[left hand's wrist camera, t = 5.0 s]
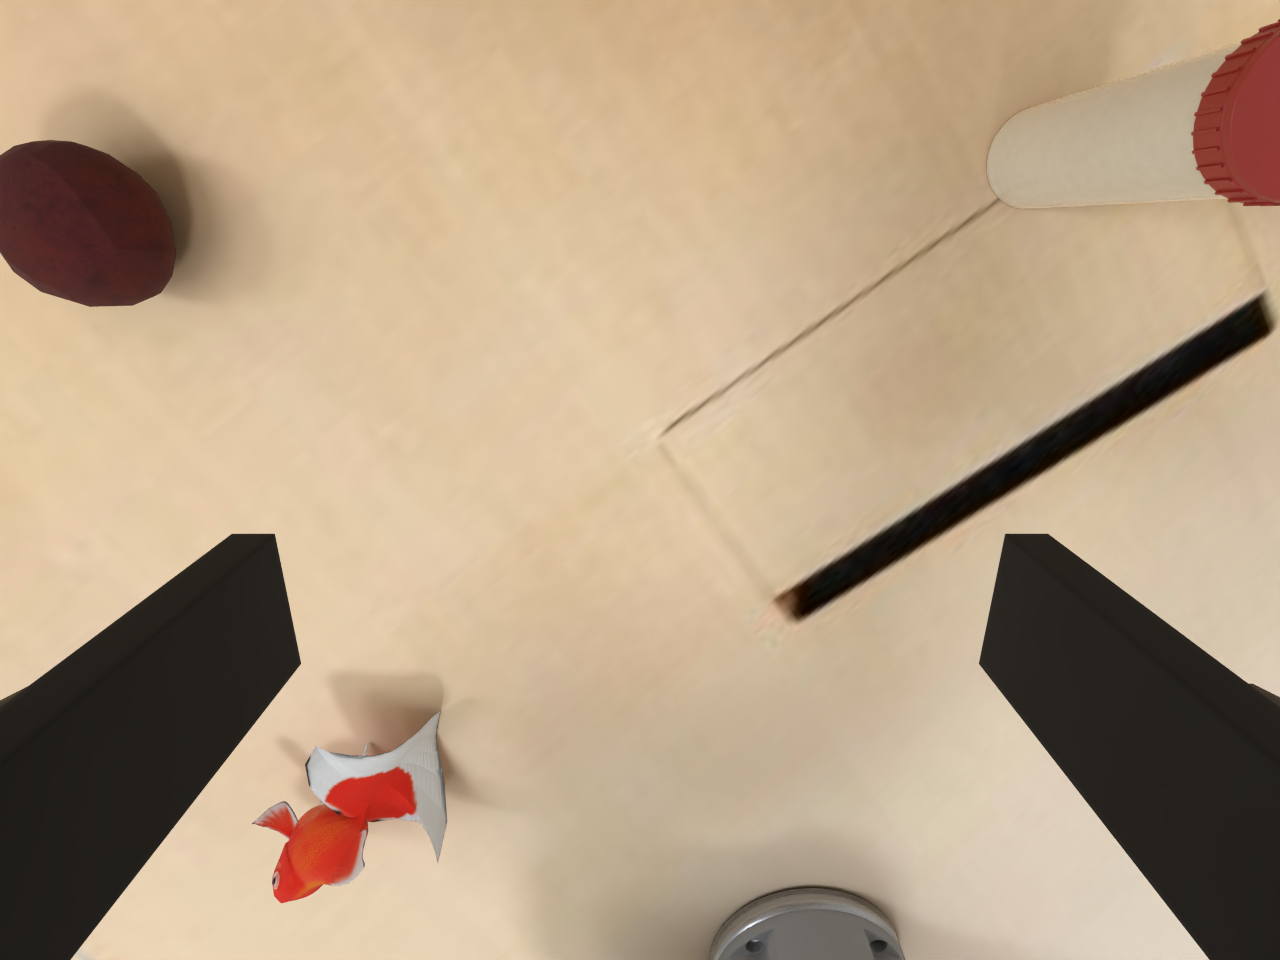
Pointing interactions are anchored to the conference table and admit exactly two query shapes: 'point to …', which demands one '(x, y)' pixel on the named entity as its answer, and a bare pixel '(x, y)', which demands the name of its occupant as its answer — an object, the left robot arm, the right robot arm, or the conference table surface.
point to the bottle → (1108, 142)
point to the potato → (82, 225)
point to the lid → (1243, 123)
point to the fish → (356, 811)
